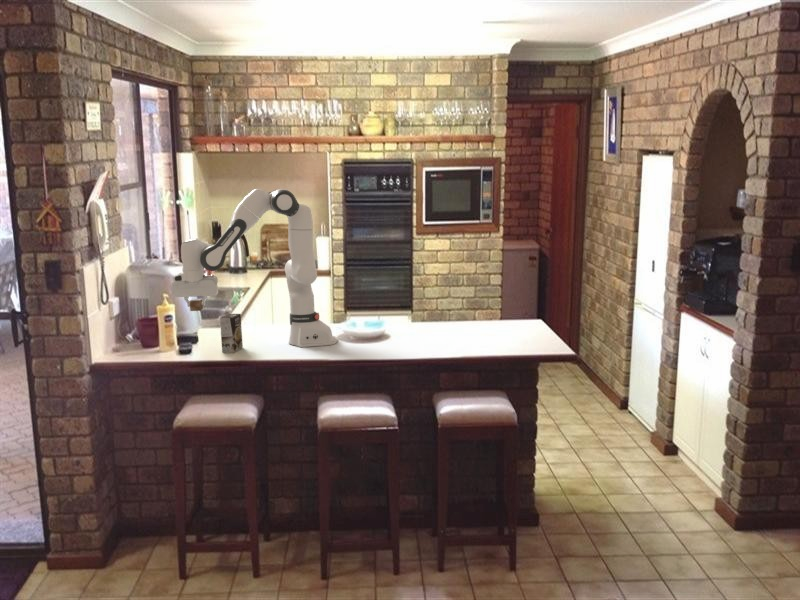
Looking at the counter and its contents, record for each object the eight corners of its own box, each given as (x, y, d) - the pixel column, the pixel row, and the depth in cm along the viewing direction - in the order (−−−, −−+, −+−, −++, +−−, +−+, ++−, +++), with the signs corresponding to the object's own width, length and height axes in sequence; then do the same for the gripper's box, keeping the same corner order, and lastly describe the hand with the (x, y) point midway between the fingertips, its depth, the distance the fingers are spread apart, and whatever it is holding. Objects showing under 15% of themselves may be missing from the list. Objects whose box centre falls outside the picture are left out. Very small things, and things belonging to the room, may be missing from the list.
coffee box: (235, 353, 329) (232, 317, 326) (221, 352, 330) (219, 317, 327) (243, 347, 338) (241, 313, 335) (230, 347, 339) (227, 313, 336)
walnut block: (203, 308, 332) (202, 298, 332) (200, 310, 328) (199, 300, 327) (192, 308, 332) (192, 299, 332) (190, 311, 328) (189, 301, 327)
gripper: (218, 273, 330) (221, 303, 333) (172, 275, 330) (175, 305, 333) (215, 275, 324) (218, 306, 327) (168, 277, 324) (171, 308, 327)
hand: (196, 306), depth 330 cm, fingers closed on walnut block, 4 cm apart
